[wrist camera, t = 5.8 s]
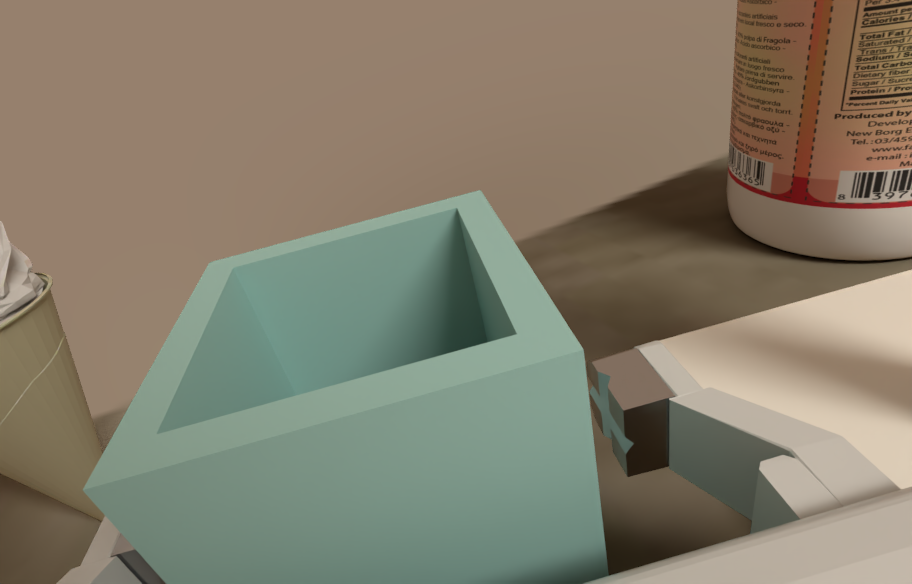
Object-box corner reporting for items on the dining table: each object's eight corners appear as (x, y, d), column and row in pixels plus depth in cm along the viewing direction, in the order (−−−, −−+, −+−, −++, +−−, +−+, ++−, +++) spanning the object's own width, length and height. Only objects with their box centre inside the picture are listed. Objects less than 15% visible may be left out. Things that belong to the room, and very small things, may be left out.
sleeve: (347, 787, 10) (83, 489, 6) (350, 533, 15) (209, 262, 10) (623, 703, 10) (583, 349, 6) (538, 479, 15) (480, 189, 11)
